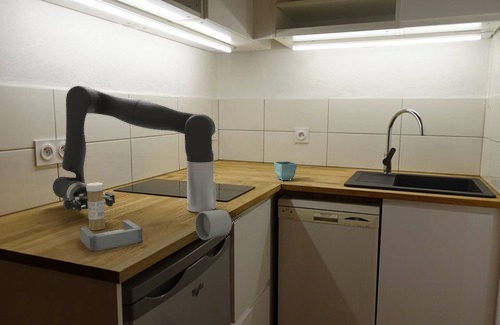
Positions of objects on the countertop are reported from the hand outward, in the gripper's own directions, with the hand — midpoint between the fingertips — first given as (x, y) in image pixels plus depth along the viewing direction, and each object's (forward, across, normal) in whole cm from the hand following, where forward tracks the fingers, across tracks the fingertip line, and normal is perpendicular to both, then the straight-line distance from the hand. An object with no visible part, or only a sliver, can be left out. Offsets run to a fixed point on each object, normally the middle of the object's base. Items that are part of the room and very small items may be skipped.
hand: (95, 205), depth 113 cm
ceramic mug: (+24, +24, +7) cm, 35 cm away
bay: (+13, 0, +7) cm, 15 cm away
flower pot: (-28, +100, +7) cm, 104 cm away
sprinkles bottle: (0, 0, +7) cm, 7 cm away
